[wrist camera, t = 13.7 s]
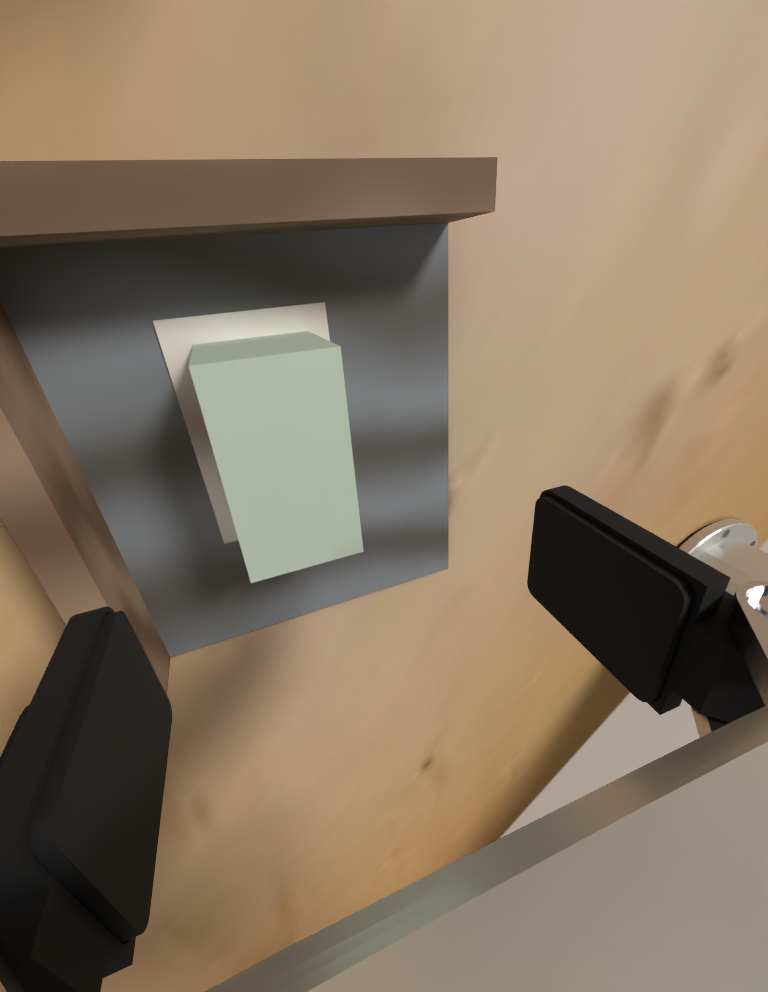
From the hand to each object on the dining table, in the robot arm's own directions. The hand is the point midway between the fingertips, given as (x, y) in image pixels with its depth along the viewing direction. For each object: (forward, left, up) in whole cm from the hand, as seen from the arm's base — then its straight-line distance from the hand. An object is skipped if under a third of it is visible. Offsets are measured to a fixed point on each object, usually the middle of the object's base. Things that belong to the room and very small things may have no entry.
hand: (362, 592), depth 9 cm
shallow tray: (-1, +1, -12) cm, 12 cm away
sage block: (0, 0, -11) cm, 11 cm away
